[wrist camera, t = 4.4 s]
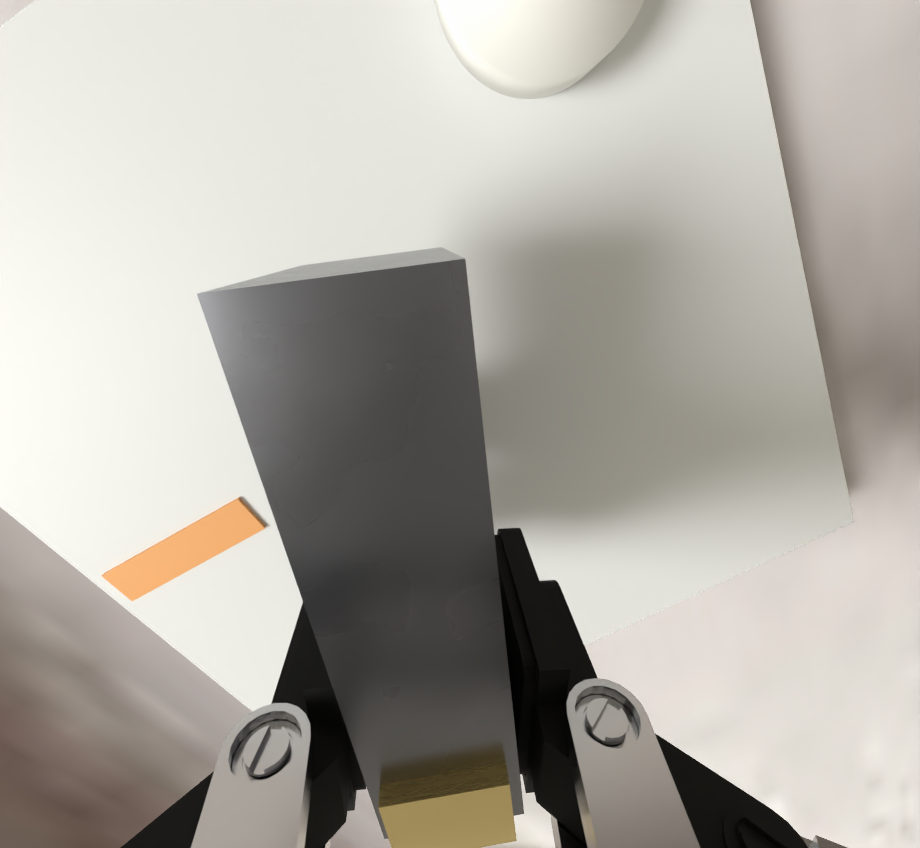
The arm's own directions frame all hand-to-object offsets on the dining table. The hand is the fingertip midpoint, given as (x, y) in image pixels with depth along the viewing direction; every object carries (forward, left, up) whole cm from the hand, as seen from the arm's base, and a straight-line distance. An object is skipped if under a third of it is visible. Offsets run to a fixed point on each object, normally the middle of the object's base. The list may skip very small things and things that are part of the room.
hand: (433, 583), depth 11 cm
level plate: (-3, +1, -4) cm, 5 cm away
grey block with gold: (-3, +1, -3) cm, 4 cm away
